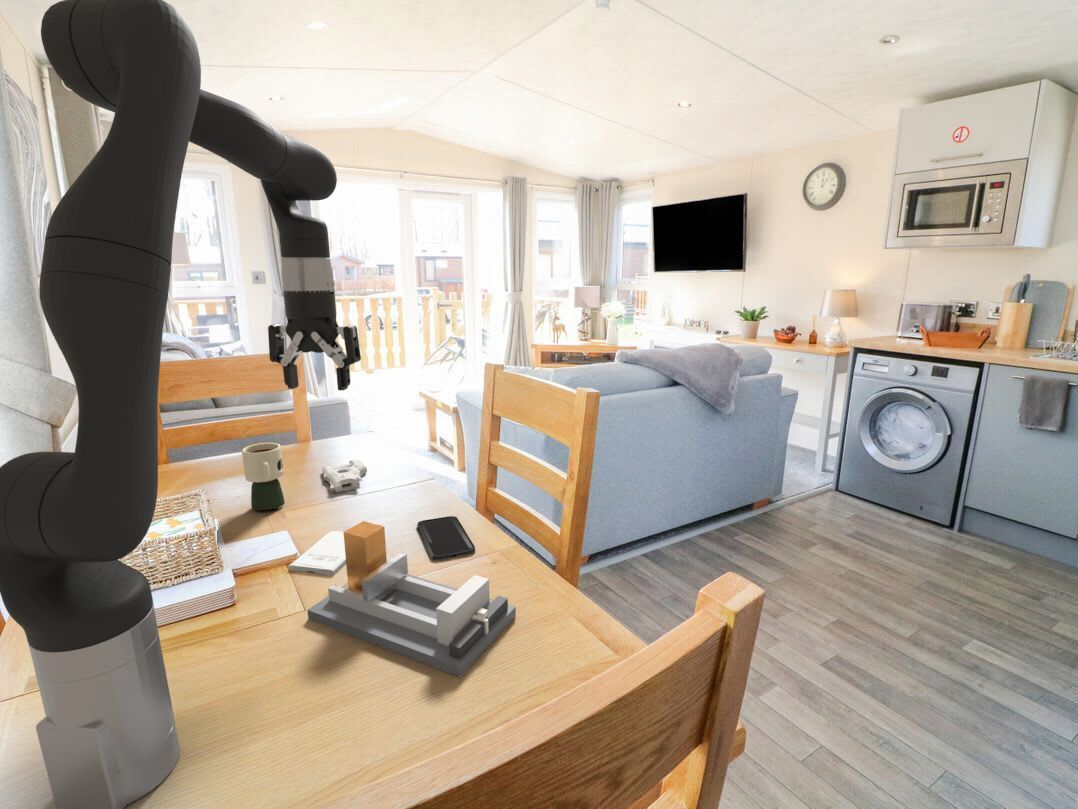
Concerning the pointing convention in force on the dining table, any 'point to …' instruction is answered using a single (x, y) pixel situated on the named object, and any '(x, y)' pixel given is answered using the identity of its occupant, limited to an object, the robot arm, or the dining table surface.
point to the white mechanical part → (345, 475)
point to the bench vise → (421, 620)
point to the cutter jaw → (371, 562)
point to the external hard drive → (323, 556)
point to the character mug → (264, 474)
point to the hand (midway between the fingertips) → (318, 388)
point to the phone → (445, 538)
